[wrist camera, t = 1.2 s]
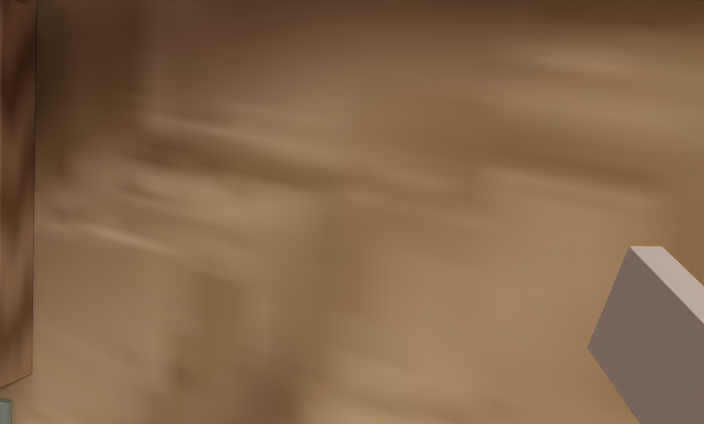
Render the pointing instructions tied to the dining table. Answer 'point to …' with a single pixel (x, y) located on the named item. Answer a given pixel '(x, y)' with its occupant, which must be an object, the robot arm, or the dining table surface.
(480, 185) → the dining table surface
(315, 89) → the dining table surface
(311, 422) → the dining table surface
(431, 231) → the dining table surface
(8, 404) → the pad
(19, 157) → the walnut lane
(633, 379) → the robot arm
